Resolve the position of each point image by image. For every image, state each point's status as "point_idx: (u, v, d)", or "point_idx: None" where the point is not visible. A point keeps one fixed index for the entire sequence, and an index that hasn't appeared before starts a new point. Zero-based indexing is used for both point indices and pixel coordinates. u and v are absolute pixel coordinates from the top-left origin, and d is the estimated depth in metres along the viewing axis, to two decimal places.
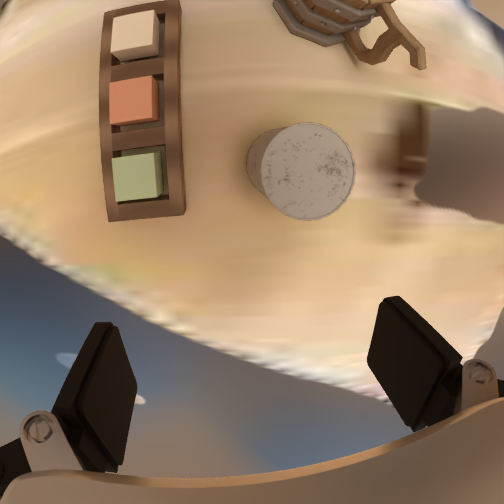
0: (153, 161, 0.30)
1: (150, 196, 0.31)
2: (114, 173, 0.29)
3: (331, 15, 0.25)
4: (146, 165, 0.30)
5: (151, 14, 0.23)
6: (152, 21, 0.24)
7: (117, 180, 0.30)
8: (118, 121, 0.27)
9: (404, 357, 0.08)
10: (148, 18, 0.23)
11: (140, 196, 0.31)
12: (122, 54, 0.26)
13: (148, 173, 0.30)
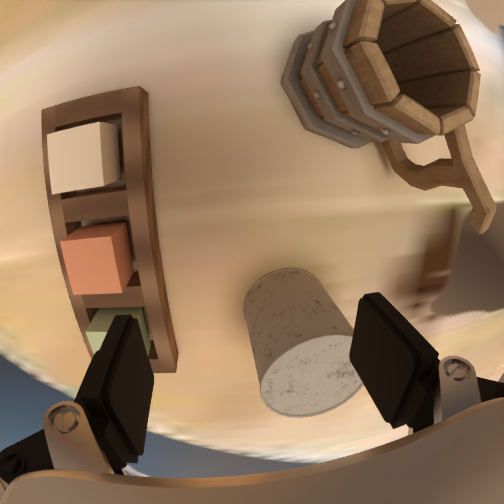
0: None
1: None
2: (92, 346, 0.24)
3: None
4: None
5: (96, 130, 0.18)
6: (99, 144, 0.19)
7: None
8: (82, 293, 0.22)
9: (382, 353, 0.08)
10: (93, 138, 0.18)
11: None
12: None
13: None
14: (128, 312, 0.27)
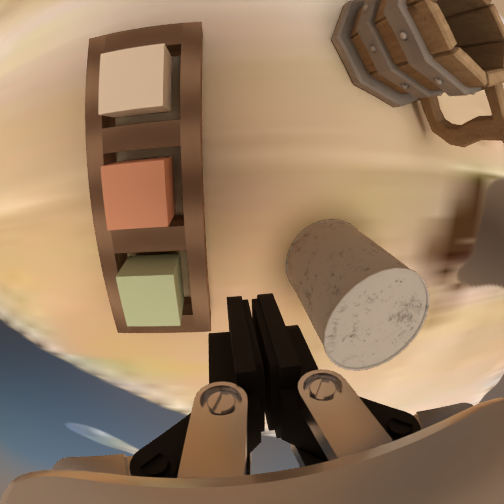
0: (174, 285, 0.23)
1: (171, 324, 0.25)
2: (121, 295, 0.23)
3: (421, 79, 0.18)
4: (164, 289, 0.23)
5: (160, 51, 0.16)
6: (162, 64, 0.17)
7: (126, 303, 0.23)
8: (119, 227, 0.21)
9: (261, 357, 0.09)
10: (155, 58, 0.17)
11: (158, 323, 0.24)
12: (117, 114, 0.19)
13: (167, 299, 0.24)
14: (164, 258, 0.26)
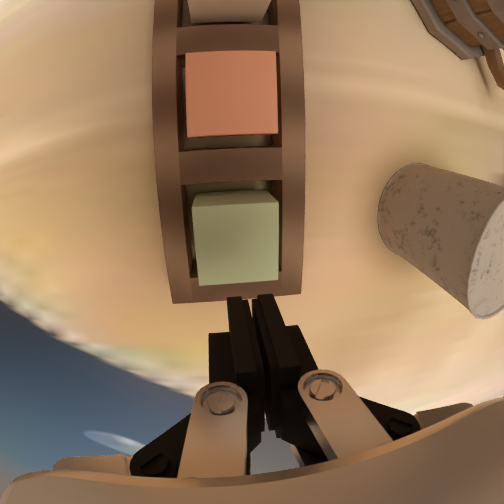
0: (277, 218, 0.17)
1: (266, 278, 0.19)
2: (197, 236, 0.17)
3: (497, 29, 0.12)
4: (263, 224, 0.17)
5: None
6: None
7: (203, 249, 0.17)
8: (206, 133, 0.15)
9: (261, 357, 0.09)
10: None
11: (247, 278, 0.18)
12: (204, 7, 0.13)
13: (265, 240, 0.18)
14: (250, 192, 0.20)
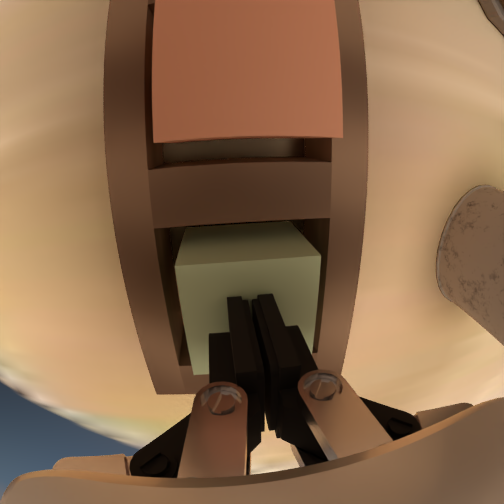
0: (317, 281, 0.10)
1: None
2: (186, 310, 0.10)
3: None
4: (295, 290, 0.10)
5: None
6: None
7: (197, 329, 0.11)
8: (195, 133, 0.07)
9: (261, 357, 0.09)
10: None
11: None
12: None
13: (296, 313, 0.11)
14: (268, 228, 0.13)
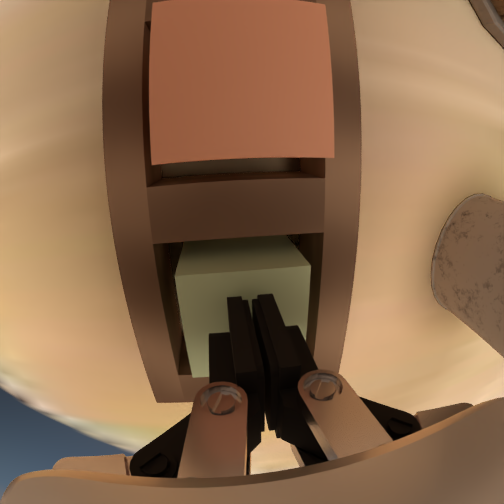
0: (308, 289, 0.11)
1: None
2: (186, 316, 0.11)
3: None
4: (286, 298, 0.11)
5: None
6: None
7: (196, 334, 0.11)
8: (191, 156, 0.07)
9: (261, 357, 0.09)
10: None
11: None
12: None
13: (288, 319, 0.12)
14: (263, 239, 0.14)
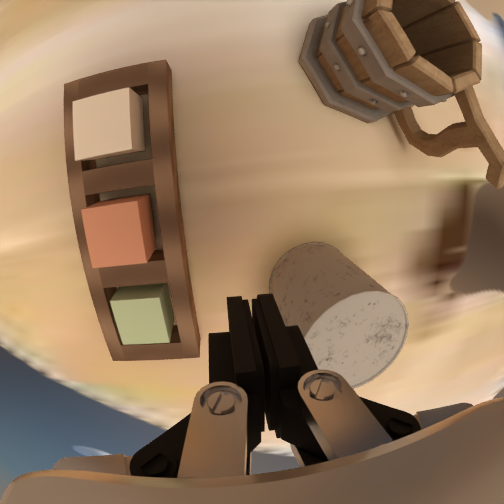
0: (160, 306, 0.26)
1: (161, 341, 0.27)
2: (116, 317, 0.26)
3: (388, 93, 0.20)
4: (152, 310, 0.26)
5: (125, 96, 0.18)
6: (128, 108, 0.19)
7: (121, 324, 0.26)
8: (103, 265, 0.22)
9: (261, 357, 0.09)
10: (122, 103, 0.18)
11: (150, 341, 0.27)
12: (93, 158, 0.21)
13: (156, 319, 0.26)
14: None
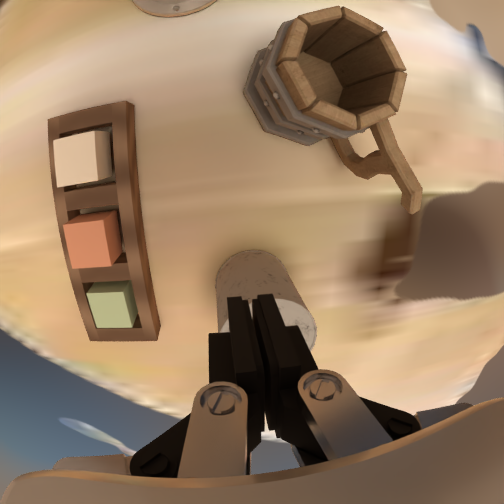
0: (124, 299, 0.32)
1: (126, 326, 0.33)
2: (91, 305, 0.32)
3: None
4: (118, 301, 0.32)
5: (92, 137, 0.24)
6: (94, 148, 0.24)
7: (95, 311, 0.32)
8: (79, 267, 0.28)
9: (261, 357, 0.09)
10: (89, 143, 0.24)
11: (117, 325, 0.33)
12: None
13: (121, 308, 0.32)
14: None
